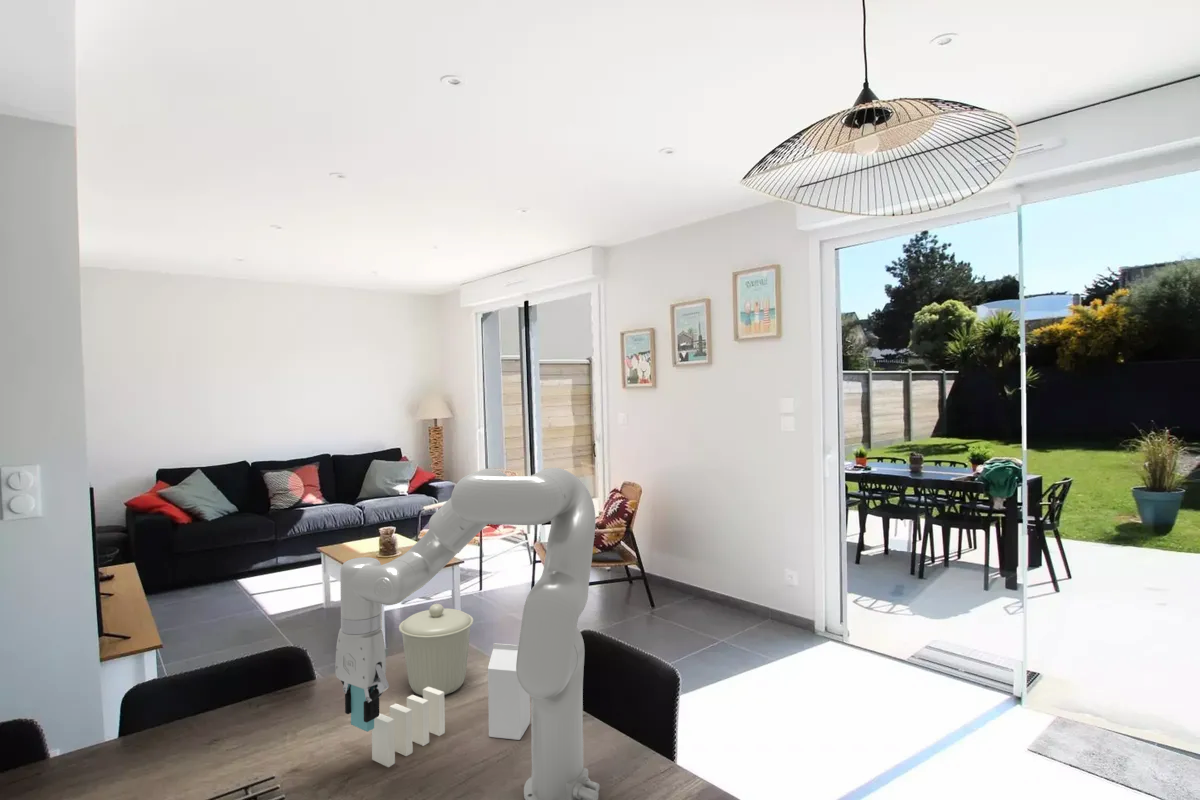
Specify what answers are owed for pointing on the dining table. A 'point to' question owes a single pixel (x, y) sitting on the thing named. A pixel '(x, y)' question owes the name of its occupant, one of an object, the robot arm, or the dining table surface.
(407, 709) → the domino
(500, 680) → the milk carton
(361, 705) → the domino
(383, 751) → the domino
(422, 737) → the domino
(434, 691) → the domino
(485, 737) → the dining table surface
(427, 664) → the canister
